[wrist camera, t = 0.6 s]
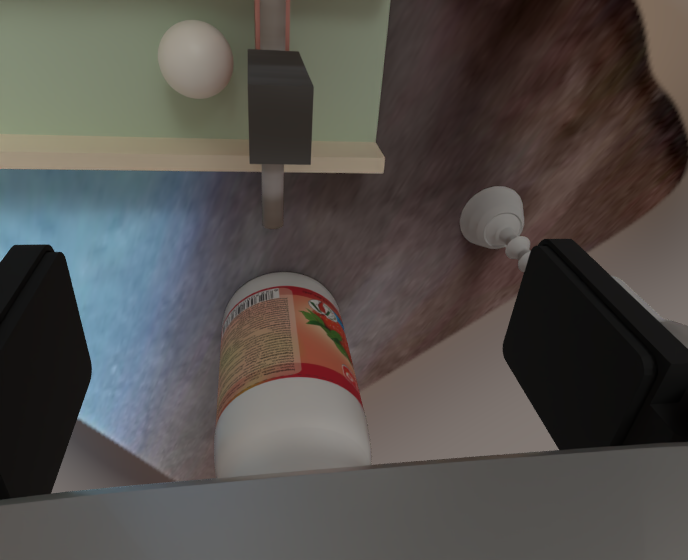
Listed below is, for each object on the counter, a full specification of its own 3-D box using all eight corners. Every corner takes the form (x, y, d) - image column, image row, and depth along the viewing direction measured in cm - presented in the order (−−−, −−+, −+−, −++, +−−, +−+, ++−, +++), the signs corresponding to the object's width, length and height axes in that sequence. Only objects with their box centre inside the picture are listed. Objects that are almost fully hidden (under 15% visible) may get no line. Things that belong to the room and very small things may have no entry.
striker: (244, -114, 27) (242, -145, 16) (292, -109, 27) (322, -136, 16) (251, 185, 35) (252, 300, 24) (287, 186, 36) (305, 298, 25)
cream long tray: (-271, -110, 25) (-459, -125, 18) (392, -54, 30) (432, -49, 24) (-160, 141, 31) (-268, 197, 25) (371, 151, 37) (398, 200, 30)
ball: (159, 13, 29) (147, 23, 26) (233, 17, 30) (231, 28, 27) (166, 87, 32) (157, 106, 28) (235, 90, 32) (234, 108, 29)
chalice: (490, 155, 38) (645, 299, 23) (553, 198, 41) (728, 350, 26) (429, 235, 41) (532, 407, 26) (492, 269, 44) (618, 444, 29)
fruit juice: (224, 264, 40) (193, 728, 17) (347, 271, 42) (472, 694, 19) (220, 360, 45) (191, 821, 22) (330, 362, 47) (412, 786, 23)
